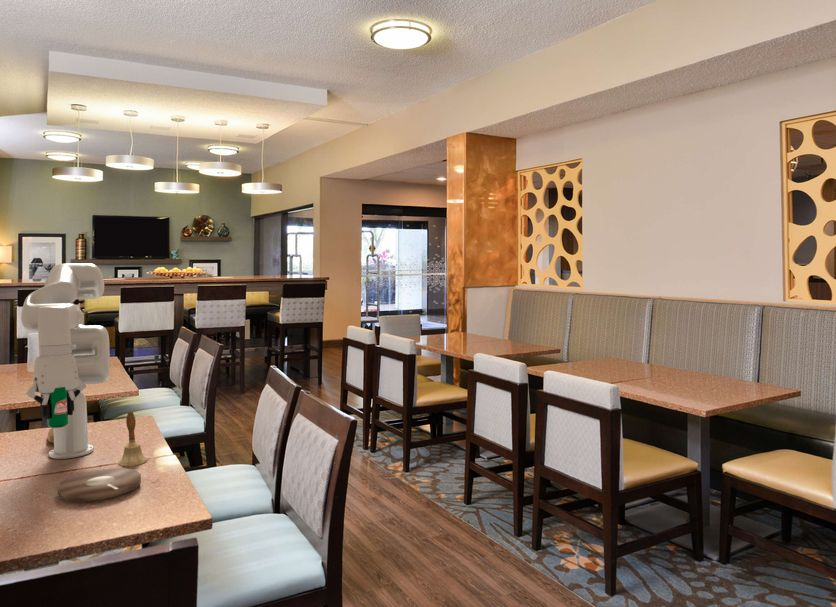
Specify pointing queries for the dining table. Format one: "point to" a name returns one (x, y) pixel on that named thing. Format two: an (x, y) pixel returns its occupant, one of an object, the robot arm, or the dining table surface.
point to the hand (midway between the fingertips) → (58, 415)
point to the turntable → (99, 484)
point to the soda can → (58, 408)
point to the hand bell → (132, 446)
